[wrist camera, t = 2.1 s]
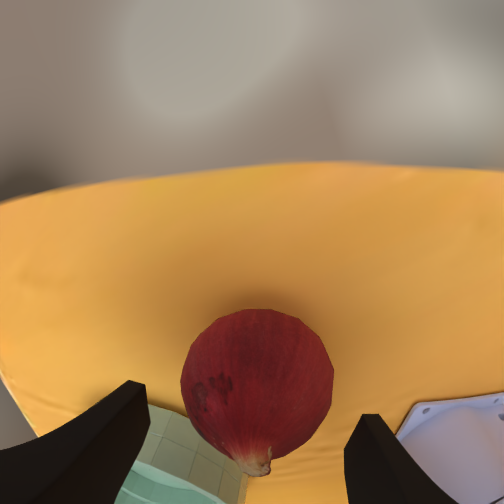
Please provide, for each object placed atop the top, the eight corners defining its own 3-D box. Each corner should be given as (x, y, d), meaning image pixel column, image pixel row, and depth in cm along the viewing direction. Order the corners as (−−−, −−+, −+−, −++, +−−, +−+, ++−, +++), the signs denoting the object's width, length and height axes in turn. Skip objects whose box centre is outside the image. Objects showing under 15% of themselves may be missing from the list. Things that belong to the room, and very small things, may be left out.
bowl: (229, 399, 16) (213, 467, 11) (259, 496, 19) (254, 542, 14) (63, 385, 18) (28, 424, 13) (127, 480, 21) (111, 516, 16)
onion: (214, 378, 15) (174, 500, 8) (197, 282, 14) (117, 397, 6) (321, 376, 15) (336, 506, 7) (323, 276, 13) (364, 403, 6)
